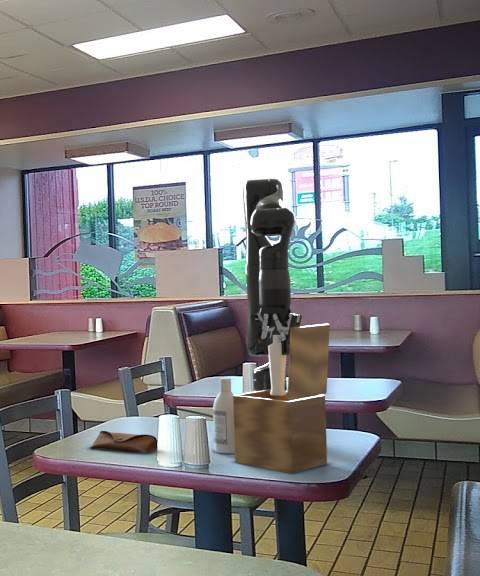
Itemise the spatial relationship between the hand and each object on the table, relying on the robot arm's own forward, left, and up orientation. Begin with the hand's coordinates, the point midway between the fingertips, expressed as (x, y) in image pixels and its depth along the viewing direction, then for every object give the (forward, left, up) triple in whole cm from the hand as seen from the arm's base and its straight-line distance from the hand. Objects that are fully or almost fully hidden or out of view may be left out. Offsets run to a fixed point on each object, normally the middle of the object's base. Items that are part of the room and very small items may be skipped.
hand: (276, 354), depth 208 cm
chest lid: (+9, 0, -1) cm, 9 cm away
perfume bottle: (0, 0, -11) cm, 11 cm away
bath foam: (-18, +2, -28) cm, 33 cm away
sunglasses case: (-40, -16, -28) cm, 51 cm away
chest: (0, 0, -28) cm, 28 cm away
